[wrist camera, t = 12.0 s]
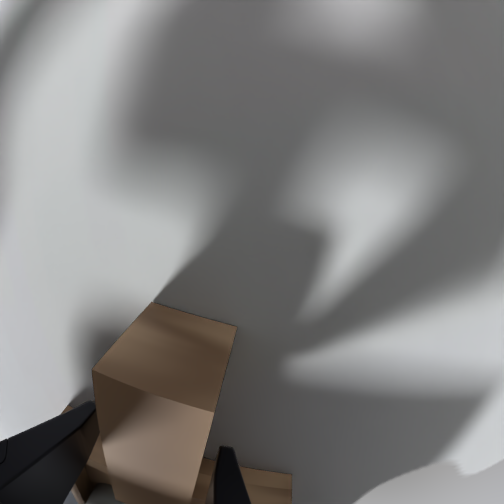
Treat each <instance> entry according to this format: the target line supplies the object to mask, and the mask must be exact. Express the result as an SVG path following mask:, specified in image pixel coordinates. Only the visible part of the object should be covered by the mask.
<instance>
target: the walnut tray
mask: <svg viewBox="0 0 504 504" xmlns="http://www.w3.org/2000/svg"><path fill="white" fill-rule="evenodd" d="M236 330H237V327H236V326H232V325H228V324H225V323H221V322H217V321H214V320H210V319H206V318H203V317H199V316H196V315H192V314H189V313H186V312H182V311H179V310H176V309H172V308H169V307H166V306H163V305H159V304H156V303H153V302H151V303H150V304H149V305H148V306H147V308H146V309H145V310H144V311H143V312H142V313H141V314H140V315H139V316H138V317H137V319H136V320H135V321H134V322H133V323H132V324H131V325H130V326H129V327H128V329H127V330H126V331H125V332H124V333H123V334H122V335H121V336H120V337H119V339H118V340H117V341H116V342H115V343H114V344H113V345H112V347H111V348H110V349H109V350H108V351H107V352H106V353H105V354H104V356H103V357H102V358H101V359H100V360H99V361H98V363H97V364H96V365H95V366H94V367H93V368H92V378H93V388H94V396H95V404H96V411H97V418H98V424H99V430H100V434H99V436H98V438H97V441H96V443H95V445H94V448H93V450H92V453H91V455H90V457H89V459H88V461H87V463H86V465H85V467H84V469H83V470H82V472H81V474H80V475H79V477H78V479H77V481H76V482H75V484H74V486H73V487H72V489H71V492H72V493H73V495H74V497H75V499H76V501H77V502H78V504H205V502H206V497H207V493H208V489H209V485H210V480H211V476H212V472H213V468H214V464H215V461H214V460H210V459H206V458H203V454H204V450H205V447H206V443H207V439H208V435H209V432H210V428H211V424H212V420H213V417H214V413H215V409H216V405H217V402H218V398H219V394H220V390H221V387H222V383H223V379H224V375H225V371H226V368H227V364H228V360H229V356H230V353H231V349H232V345H233V341H234V337H235V334H236ZM71 409H73V408H72V407H71V406H69V405H68V406H67V407H66V408H65V409H64V411H63V412H62V413H61V414H63V413H65V412H67V411H69V410H71ZM61 414H60V415H61ZM239 467H240V470H241V474H242V477H243V480H244V483H245V486H246V489H247V492H248V495H249V498H250V501H251V504H292V474H284V473H277V472H270V471H263V470H257V469H251V468H246V467H241V466H239Z"/></svg>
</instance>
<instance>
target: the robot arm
mask: <svg viewBox="0 0 504 504" xmlns="http://www.w3.org/2000/svg"><path fill="white" fill-rule="evenodd" d="M99 434H100V430H99V424H98V418H97V411H96V404H95V402H93V401H88V402H86V403H83V404H81V405H79V406H77V407H75V408H73V409H71V410H69V411H67V412H65V413H63V414H61V415H59V416H57V417H54V418H52V419H50V420H48V421H46V422H44V423H41V424H39V425H37V426H35V427H33V428H30V429H28V430H26V431H24V432H21V433H19V434H17V435H15V436H12V437H10V438H8V439H5V440H3V441H0V504H63V503H64V501H65V500H66V498H67V496H68V494H69V493H70V491H71V489H72V487H73V486H74V484H75V482H76V481H77V479H78V477H79V475H80V474H81V472H82V470H83V469H84V467H85V465H86V463H87V461H88V459H89V457H90V455H91V453H92V450H93V448H94V445H95V443H96V441H97V438H98V436H99ZM205 504H251V501H250V498H249V495H248V492H247V489H246V486H245V483H244V480H243V477H242V474H241V470H240V467H239V464H238V461H237V458H236V454H235V451H234V449H233V448H232V447H228V446H224V445H221V446H220V447H219V450H218V453H217V457H216V460H215V464H214V468H213V472H212V476H211V480H210V485H209V489H208V493H207V497H206V502H205Z"/></svg>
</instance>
